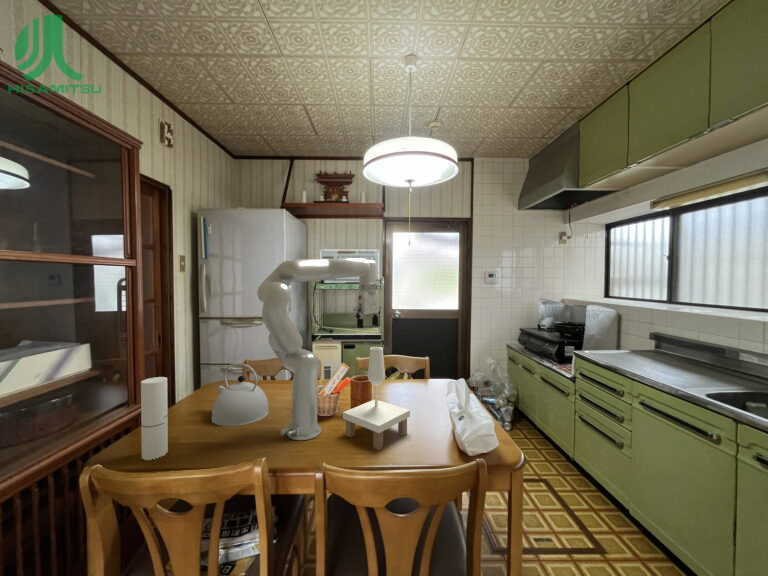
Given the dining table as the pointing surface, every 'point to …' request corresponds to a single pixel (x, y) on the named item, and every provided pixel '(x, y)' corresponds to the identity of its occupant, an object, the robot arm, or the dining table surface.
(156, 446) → the cylindrical container
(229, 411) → the kettle
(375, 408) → the champagne flute
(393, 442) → the dining table surface
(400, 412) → the footstool
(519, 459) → the dining table surface
